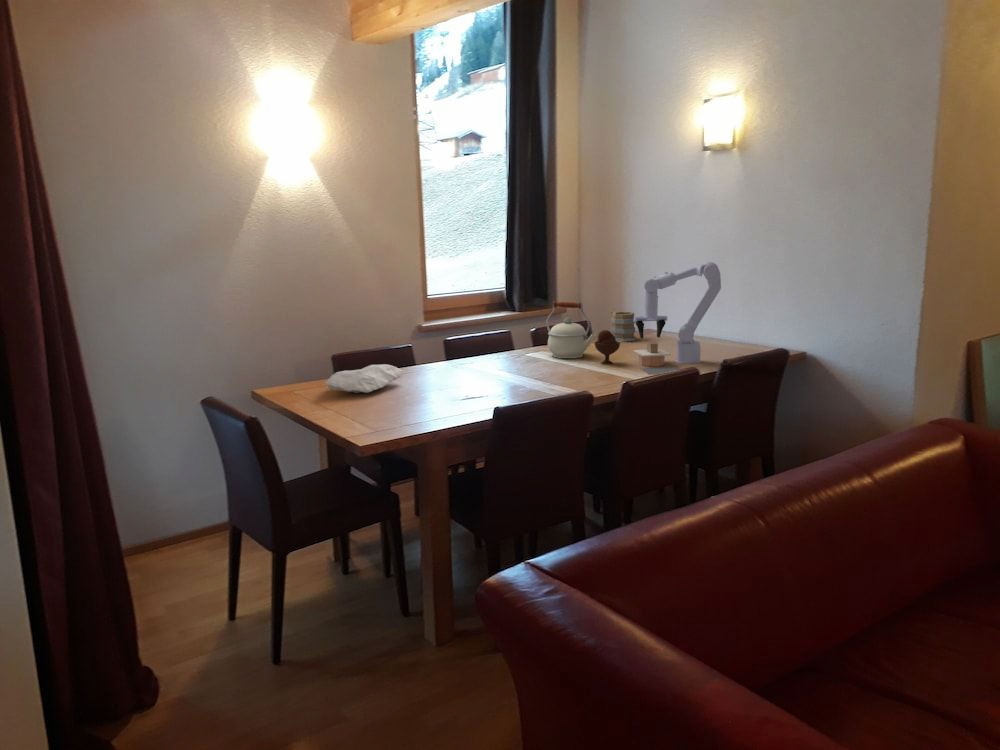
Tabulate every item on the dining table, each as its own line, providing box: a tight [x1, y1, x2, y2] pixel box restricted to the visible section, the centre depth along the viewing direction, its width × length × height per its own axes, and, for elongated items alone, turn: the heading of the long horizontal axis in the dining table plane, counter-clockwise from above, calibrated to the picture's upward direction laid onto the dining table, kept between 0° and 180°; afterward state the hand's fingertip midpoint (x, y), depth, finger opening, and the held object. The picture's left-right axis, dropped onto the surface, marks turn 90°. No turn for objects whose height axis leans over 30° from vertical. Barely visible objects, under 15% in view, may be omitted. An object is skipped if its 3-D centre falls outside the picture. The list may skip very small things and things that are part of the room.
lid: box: [633, 341, 672, 357], centre depth 322 cm, size 12×12×5 cm
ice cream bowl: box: [594, 329, 621, 365], centre depth 326 cm, size 11×11×15 cm
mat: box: [639, 366, 681, 376], centre depth 310 cm, size 16×12×1 cm
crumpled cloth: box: [324, 363, 404, 394], centre depth 288 cm, size 24×35×9 cm
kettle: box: [545, 300, 596, 359], centre depth 343 cm, size 25×18×25 cm
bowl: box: [638, 354, 665, 367], centre depth 323 cm, size 10×10×5 cm
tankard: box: [609, 308, 637, 343], centre depth 387 cm, size 20×13×15 cm, turn 16°
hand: (649, 337), depth 330 cm, fingers open, 7 cm apart
